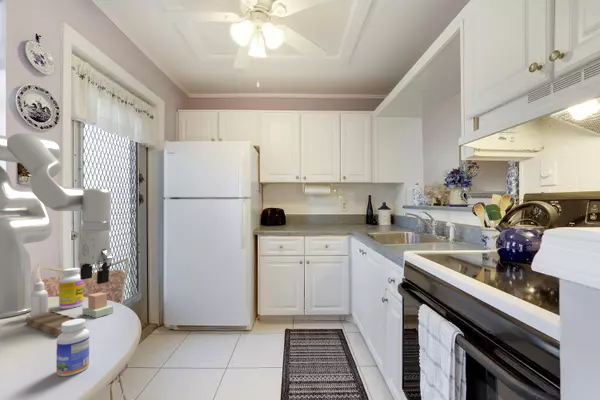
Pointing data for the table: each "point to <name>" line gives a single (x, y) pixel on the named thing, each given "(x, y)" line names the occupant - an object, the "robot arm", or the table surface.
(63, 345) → the pill bottle
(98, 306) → the stub
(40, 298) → the eye dropper bottle
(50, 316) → the board
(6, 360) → the table surface
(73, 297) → the supplement bottle
